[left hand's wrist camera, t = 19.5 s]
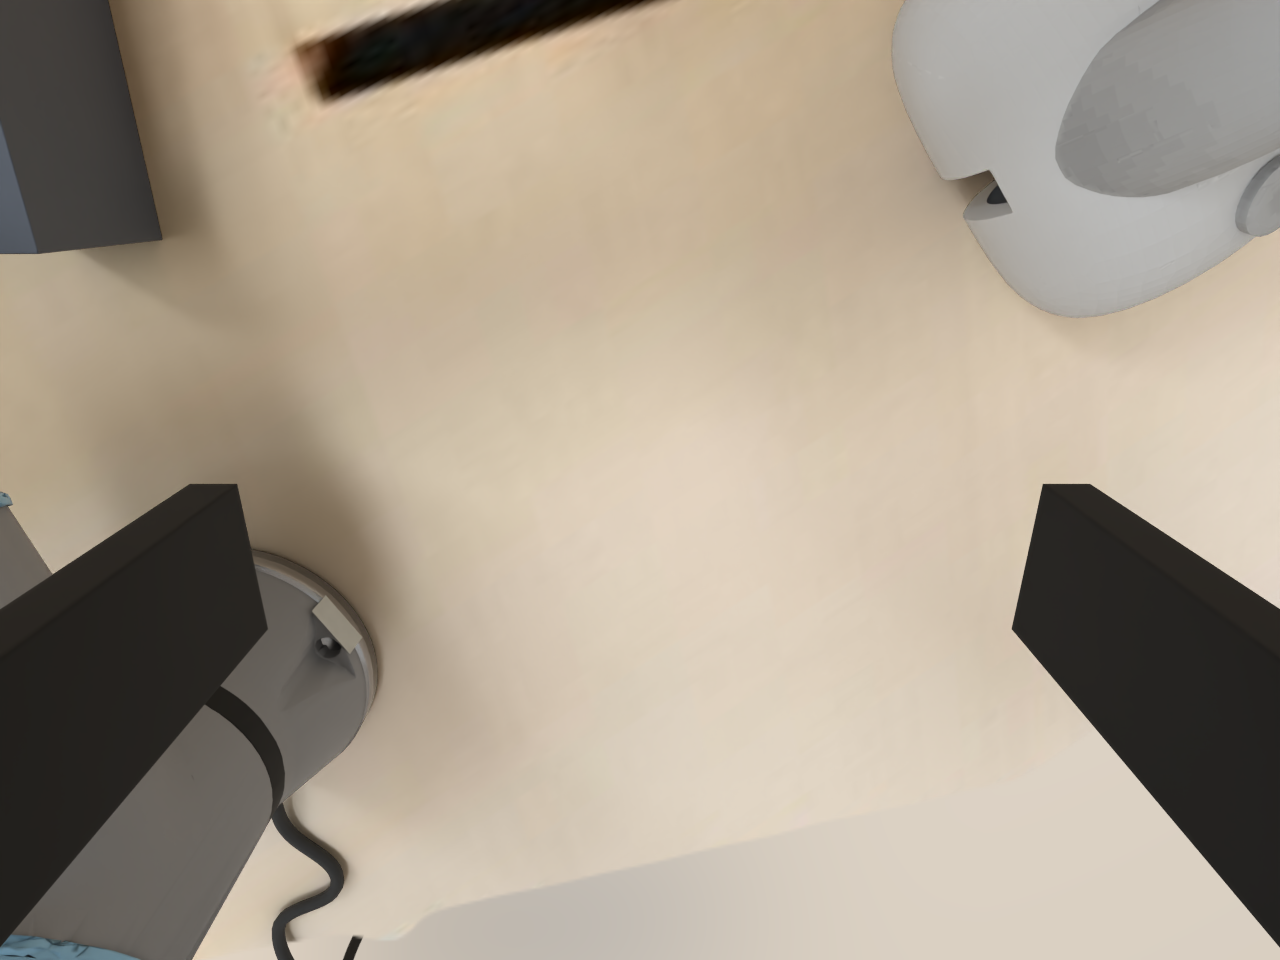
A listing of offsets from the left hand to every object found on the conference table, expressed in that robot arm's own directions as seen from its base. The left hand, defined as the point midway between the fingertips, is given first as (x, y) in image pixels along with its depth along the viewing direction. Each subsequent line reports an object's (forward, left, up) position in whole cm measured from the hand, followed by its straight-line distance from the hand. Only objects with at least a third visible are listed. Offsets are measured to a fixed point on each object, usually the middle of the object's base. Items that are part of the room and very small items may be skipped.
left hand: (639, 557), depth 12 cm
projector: (+20, -16, -27) cm, 37 cm away
